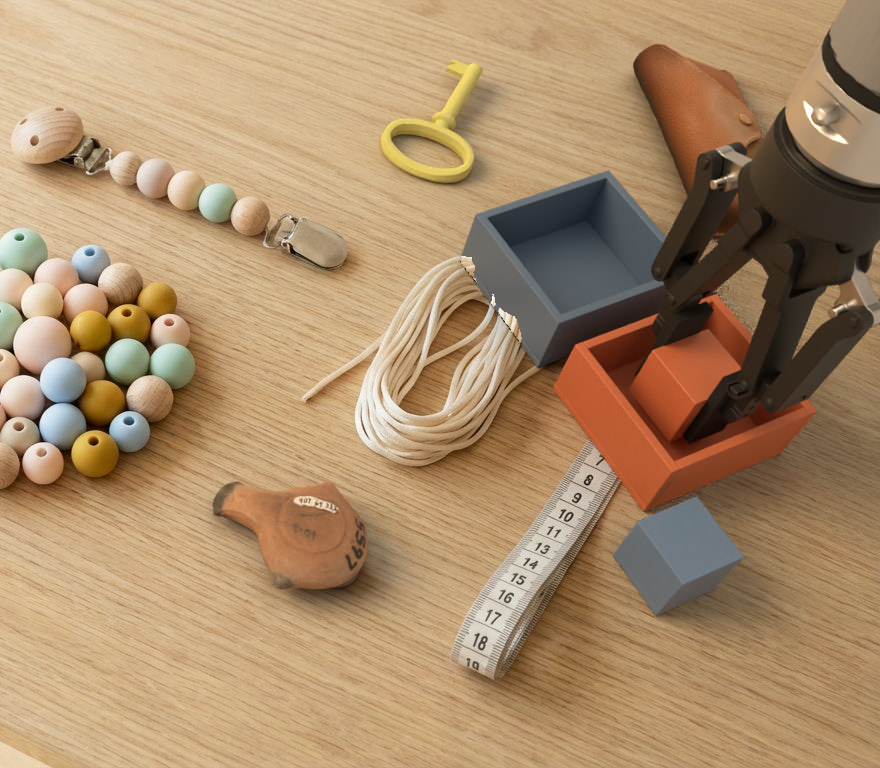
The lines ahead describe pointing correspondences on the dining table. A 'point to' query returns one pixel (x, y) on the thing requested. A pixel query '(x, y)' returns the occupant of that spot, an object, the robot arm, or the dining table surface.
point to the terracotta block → (681, 381)
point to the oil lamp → (299, 532)
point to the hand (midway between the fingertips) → (678, 401)
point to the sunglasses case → (696, 112)
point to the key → (437, 131)
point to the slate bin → (568, 263)
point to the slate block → (677, 555)
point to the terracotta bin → (639, 439)
